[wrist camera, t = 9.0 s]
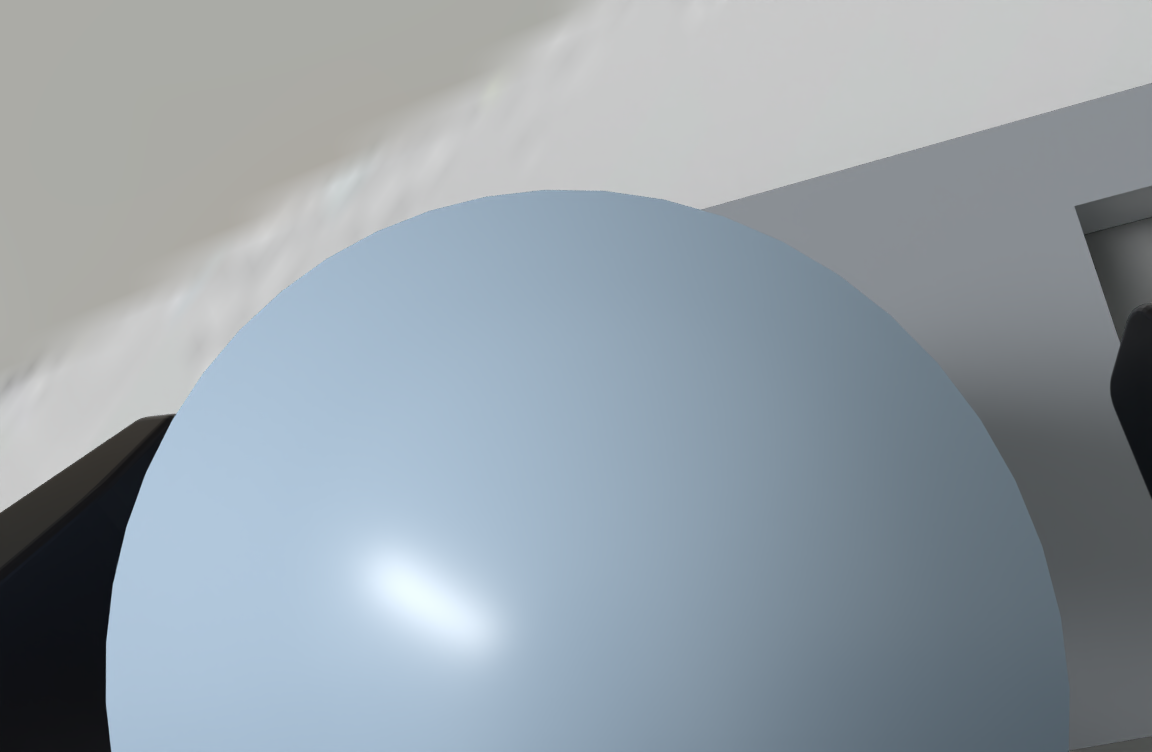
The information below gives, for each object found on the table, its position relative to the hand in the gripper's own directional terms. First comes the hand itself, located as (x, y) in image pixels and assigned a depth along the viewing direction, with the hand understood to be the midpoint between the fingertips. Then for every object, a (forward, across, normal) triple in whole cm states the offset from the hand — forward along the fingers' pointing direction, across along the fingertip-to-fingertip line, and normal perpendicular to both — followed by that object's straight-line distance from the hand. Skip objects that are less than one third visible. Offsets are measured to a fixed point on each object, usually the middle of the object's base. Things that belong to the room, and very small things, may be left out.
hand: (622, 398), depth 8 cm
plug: (+5, 0, +7) cm, 8 cm away
